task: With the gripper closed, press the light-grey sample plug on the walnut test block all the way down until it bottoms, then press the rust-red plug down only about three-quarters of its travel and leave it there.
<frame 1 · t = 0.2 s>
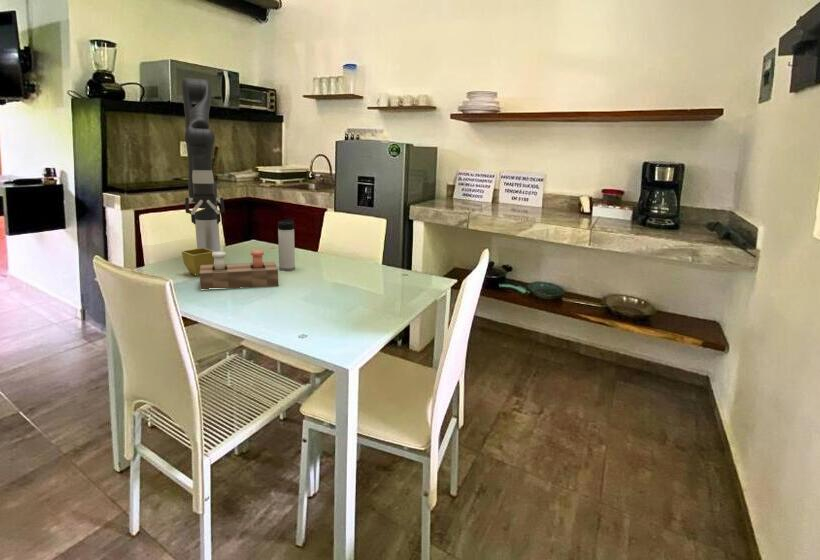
hand: (206, 223, 191), 18 cm above the table, tool pointing down, fingers open, 8 cm apart
test block: (240, 283, 176), on the table
travel mug: (287, 269, 198), on the table
red plug: (257, 260, 176), point 8 cm above the table, slide at 0.0 cm
flower pot: (199, 274, 185), on the table
grey plug: (219, 262, 171), point 8 cm above the table, slide at 0.0 cm
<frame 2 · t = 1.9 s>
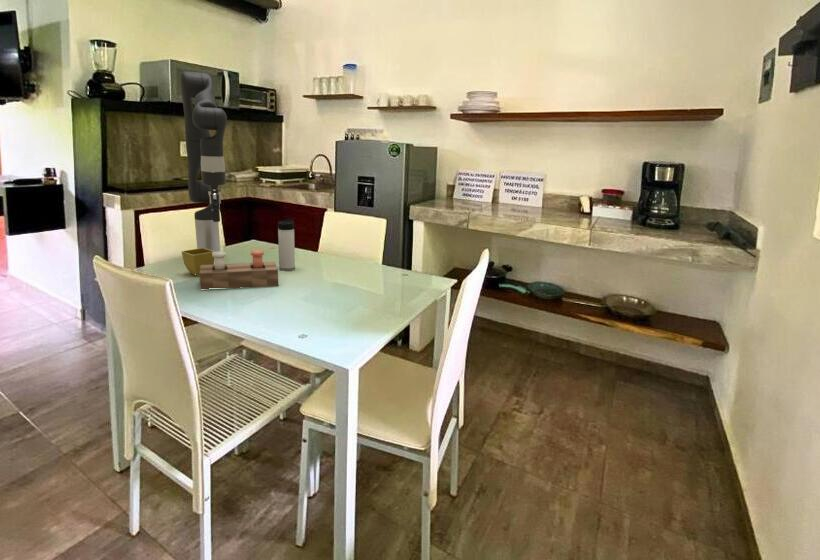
hand: (216, 220, 167), 23 cm above the table, tool pointing down, fingers open, 3 cm apart
nothing on the table moved.
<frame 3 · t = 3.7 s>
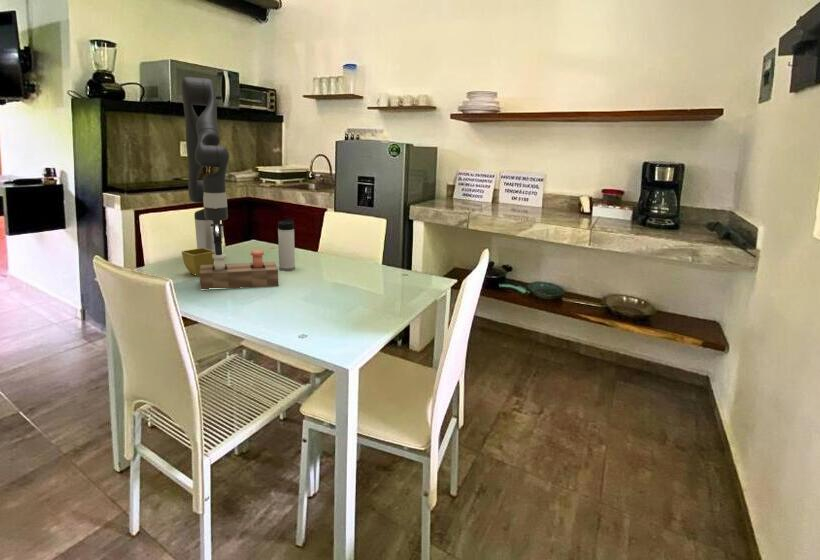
hand: (218, 254, 171), 11 cm above the table, tool pointing down, fingers closed
grey plug: (219, 264, 172), point 7 cm above the table, slide at 0.6 cm, touching gripper
everything else where it was.
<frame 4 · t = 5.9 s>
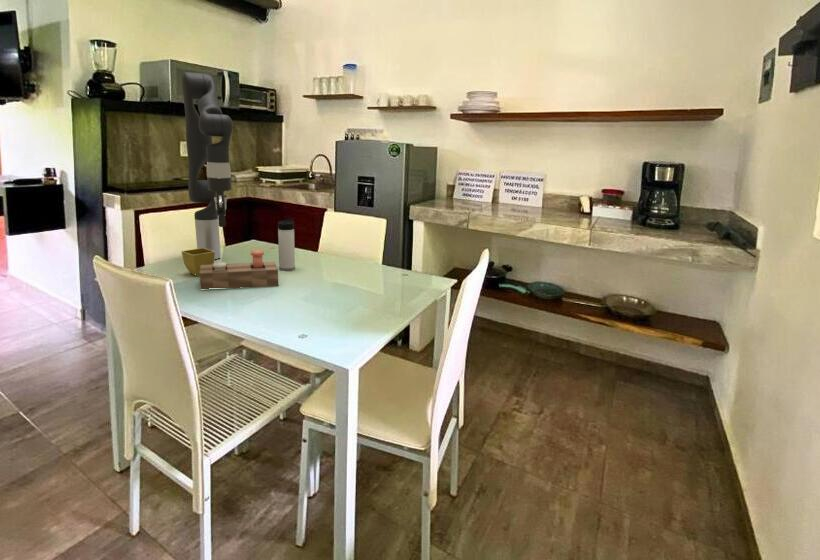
hand: (222, 226, 168), 21 cm above the table, tool pointing down, fingers closed
grey plug: (220, 273, 172), point 4 cm above the table, slide at 4.0 cm
everything else where it was.
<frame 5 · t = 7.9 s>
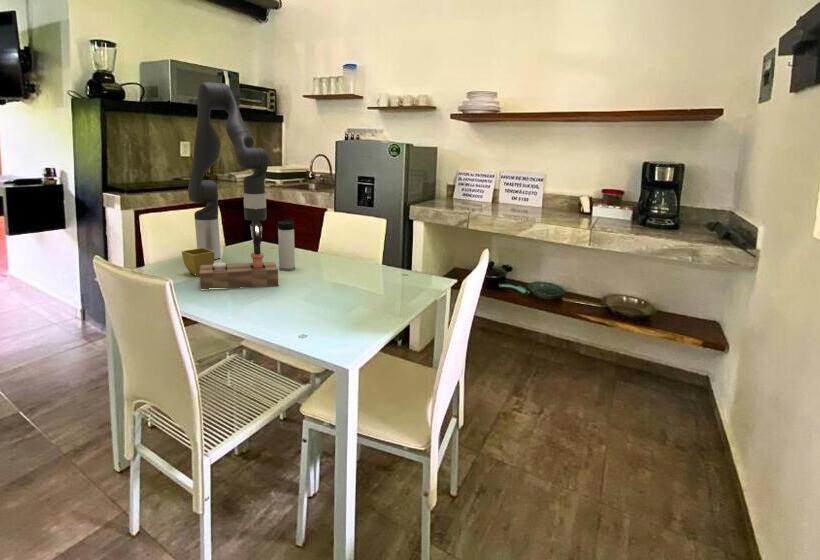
hand: (257, 253, 175), 11 cm above the table, tool pointing down, fingers closed
red plug: (257, 263, 176), point 7 cm above the table, slide at 0.9 cm, touching gripper
everything else where it was.
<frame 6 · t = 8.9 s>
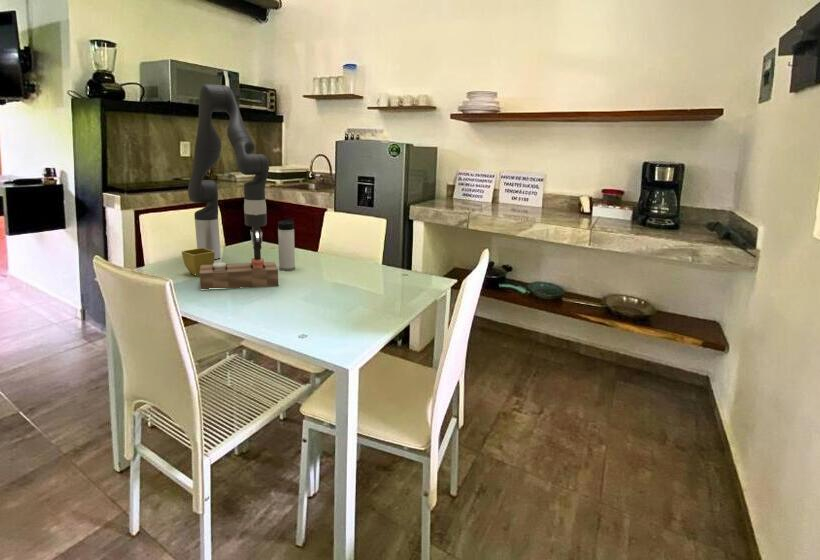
hand: (257, 259, 176), 9 cm above the table, tool pointing down, fingers closed
red plug: (258, 268, 177), point 5 cm above the table, slide at 3.0 cm, touching gripper
everything else where it was.
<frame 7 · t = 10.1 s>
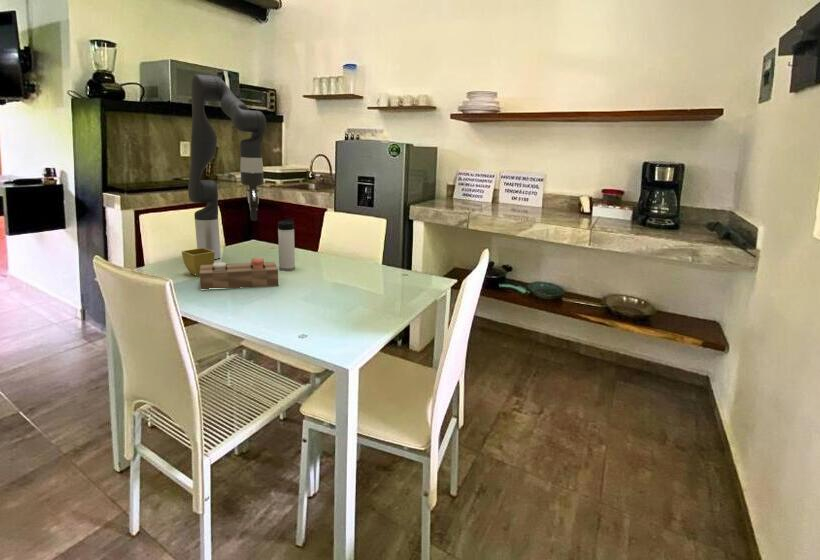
hand: (254, 220, 172), 23 cm above the table, tool pointing down, fingers closed
red plug: (258, 268, 177), point 5 cm above the table, slide at 3.0 cm
everything else where it was.
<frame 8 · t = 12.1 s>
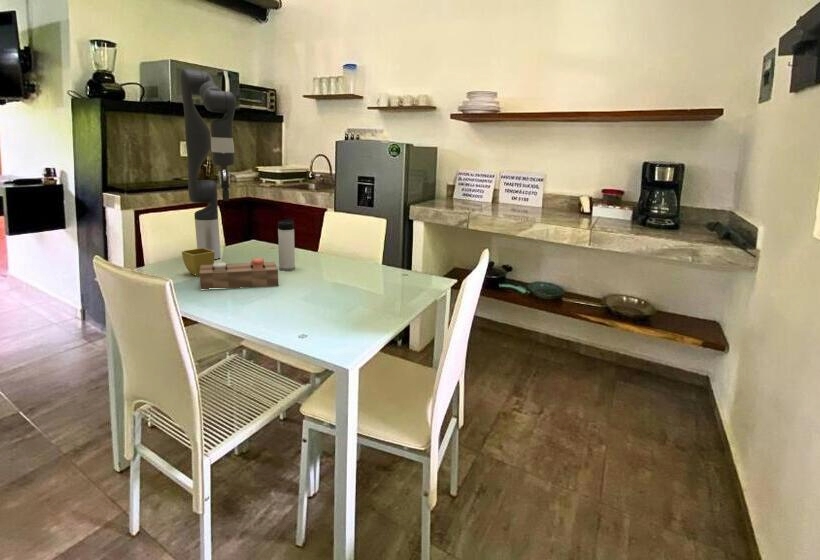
hand: (226, 200, 175), 29 cm above the table, tool pointing down, fingers closed
nothing on the table moved.
at the end: grey plug slide at 4.0 cm; red plug slide at 3.0 cm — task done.
